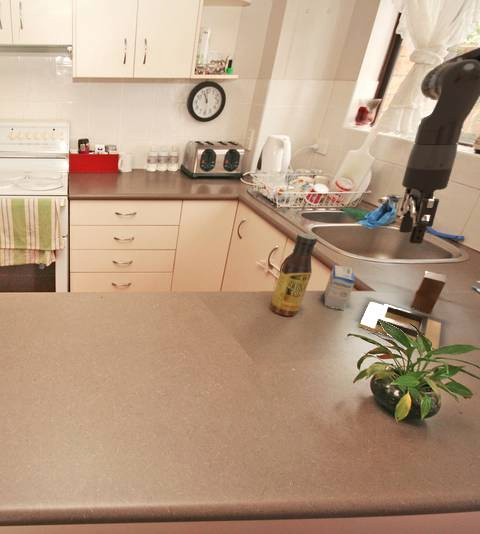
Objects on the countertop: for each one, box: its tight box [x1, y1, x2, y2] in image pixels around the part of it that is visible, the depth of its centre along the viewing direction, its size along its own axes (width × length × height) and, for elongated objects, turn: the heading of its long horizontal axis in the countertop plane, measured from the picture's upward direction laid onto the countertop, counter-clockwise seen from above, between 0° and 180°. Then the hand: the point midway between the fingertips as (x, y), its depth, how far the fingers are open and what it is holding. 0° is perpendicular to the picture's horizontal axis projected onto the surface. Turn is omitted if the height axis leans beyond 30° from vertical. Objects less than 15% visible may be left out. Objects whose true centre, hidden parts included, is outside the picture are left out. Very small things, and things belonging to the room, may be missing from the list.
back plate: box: [358, 301, 442, 350], centre depth 90 cm, size 14×14×2 cm
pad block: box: [410, 270, 447, 315], centre depth 97 cm, size 4×5×9 cm
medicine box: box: [323, 264, 356, 311], centre depth 98 cm, size 8×4×9 cm, turn 150°
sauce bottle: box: [270, 232, 318, 317], centre depth 91 cm, size 7×6×20 cm
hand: (409, 237), depth 89 cm, fingers open, 8 cm apart
